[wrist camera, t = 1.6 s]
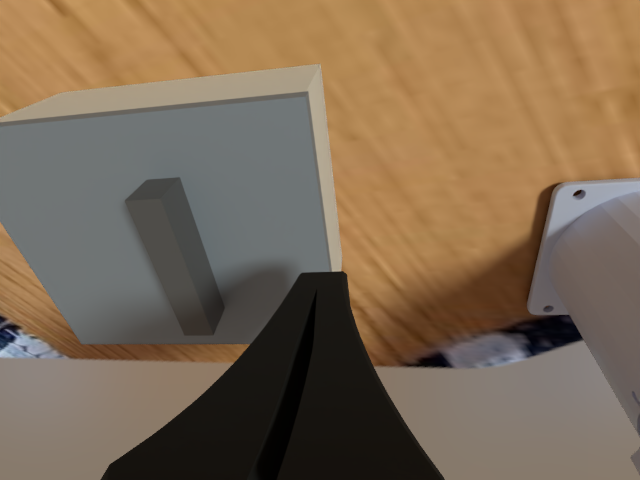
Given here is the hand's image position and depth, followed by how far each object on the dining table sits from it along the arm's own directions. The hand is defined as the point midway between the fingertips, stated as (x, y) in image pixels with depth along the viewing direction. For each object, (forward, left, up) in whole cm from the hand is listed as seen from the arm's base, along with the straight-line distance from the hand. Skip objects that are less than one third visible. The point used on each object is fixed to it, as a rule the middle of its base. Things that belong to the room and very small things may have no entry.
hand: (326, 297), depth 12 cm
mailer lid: (+6, 0, -3) cm, 7 cm away
